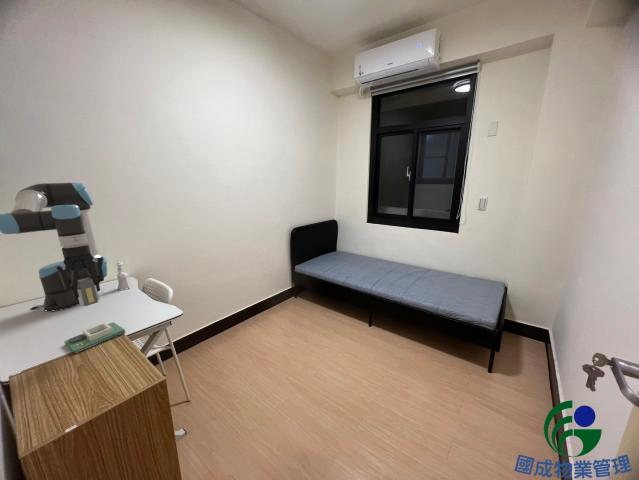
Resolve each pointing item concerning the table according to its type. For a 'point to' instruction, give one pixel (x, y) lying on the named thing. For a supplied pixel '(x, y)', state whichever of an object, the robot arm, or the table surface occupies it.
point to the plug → (87, 291)
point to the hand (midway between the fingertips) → (89, 301)
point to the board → (94, 336)
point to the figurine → (122, 277)
